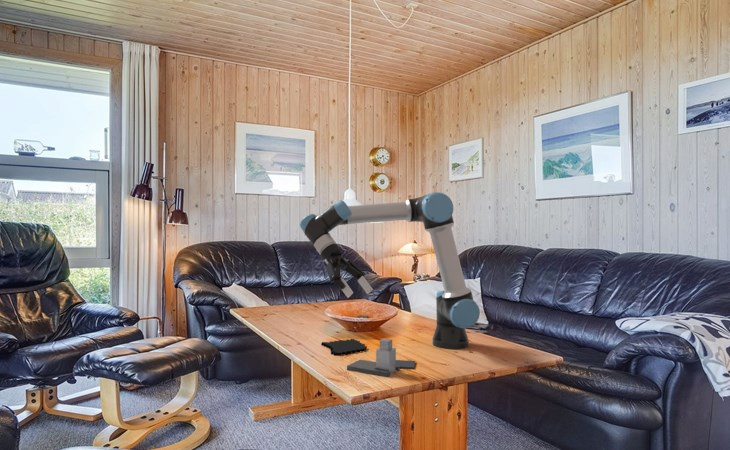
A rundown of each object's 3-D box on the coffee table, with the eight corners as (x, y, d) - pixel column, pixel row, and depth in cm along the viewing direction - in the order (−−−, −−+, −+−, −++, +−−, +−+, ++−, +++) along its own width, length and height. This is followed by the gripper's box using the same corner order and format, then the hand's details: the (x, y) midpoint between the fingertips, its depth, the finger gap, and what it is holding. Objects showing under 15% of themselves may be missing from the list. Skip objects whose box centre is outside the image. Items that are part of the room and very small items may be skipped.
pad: (415, 362, 166) (415, 360, 166) (413, 369, 158) (413, 367, 158) (393, 361, 167) (393, 359, 167) (391, 367, 159) (391, 366, 159)
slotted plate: (347, 369, 157) (347, 365, 157) (360, 363, 165) (360, 359, 165) (388, 377, 149) (388, 372, 149) (399, 369, 157) (399, 365, 157)
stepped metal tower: (376, 373, 154) (376, 340, 154) (383, 369, 158) (382, 337, 158) (389, 375, 151) (389, 342, 151) (395, 371, 155) (395, 339, 156)
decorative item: (327, 337, 200) (371, 339, 196) (327, 341, 200) (371, 343, 196) (311, 351, 178) (360, 354, 174) (311, 355, 178) (360, 358, 174)
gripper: (340, 255, 181) (371, 296, 173) (301, 256, 160) (334, 304, 152) (352, 242, 178) (384, 284, 170) (314, 242, 157) (348, 289, 149)
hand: (360, 293), depth 161 cm, fingers open, 13 cm apart
